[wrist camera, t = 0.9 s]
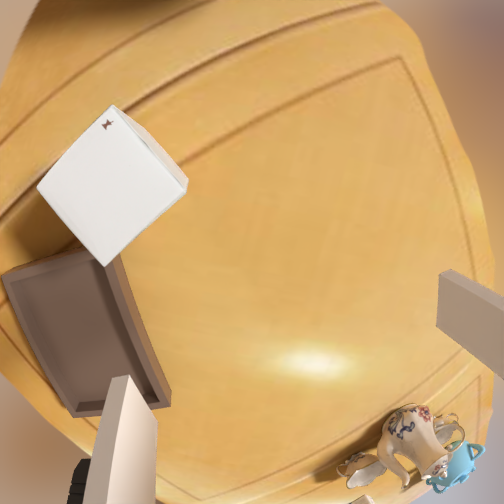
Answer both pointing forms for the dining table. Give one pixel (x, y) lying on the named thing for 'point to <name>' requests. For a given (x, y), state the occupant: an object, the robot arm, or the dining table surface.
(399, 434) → the chinaware
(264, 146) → the dining table surface
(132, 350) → the tray
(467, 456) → the teapot
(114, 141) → the supplement box
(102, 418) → the robot arm
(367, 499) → the ink box
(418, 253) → the dining table surface
